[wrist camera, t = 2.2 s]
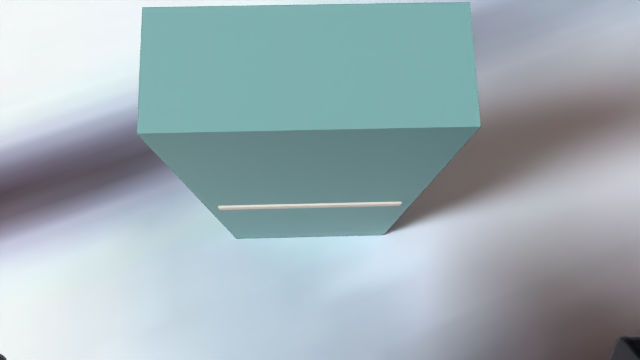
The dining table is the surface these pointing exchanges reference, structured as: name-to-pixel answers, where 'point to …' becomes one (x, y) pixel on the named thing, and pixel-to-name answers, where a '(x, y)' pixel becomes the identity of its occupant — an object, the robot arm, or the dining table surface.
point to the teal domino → (307, 109)
